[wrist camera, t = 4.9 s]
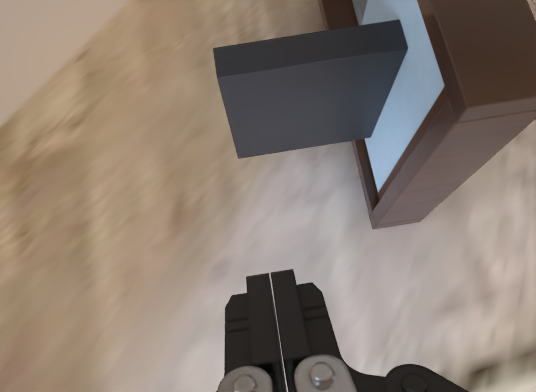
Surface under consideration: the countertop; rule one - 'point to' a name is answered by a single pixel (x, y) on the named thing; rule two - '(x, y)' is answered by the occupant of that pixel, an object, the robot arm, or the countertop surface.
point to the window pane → (337, 88)
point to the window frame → (456, 99)
